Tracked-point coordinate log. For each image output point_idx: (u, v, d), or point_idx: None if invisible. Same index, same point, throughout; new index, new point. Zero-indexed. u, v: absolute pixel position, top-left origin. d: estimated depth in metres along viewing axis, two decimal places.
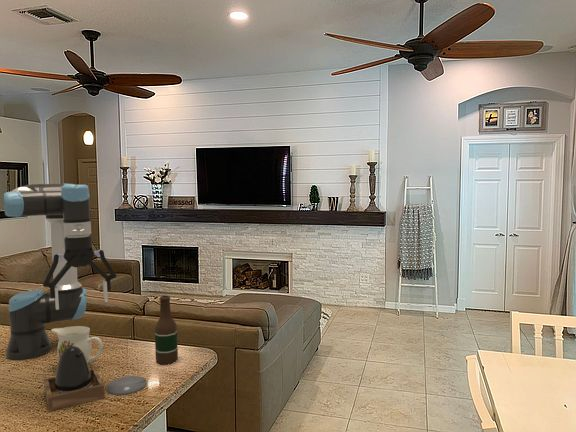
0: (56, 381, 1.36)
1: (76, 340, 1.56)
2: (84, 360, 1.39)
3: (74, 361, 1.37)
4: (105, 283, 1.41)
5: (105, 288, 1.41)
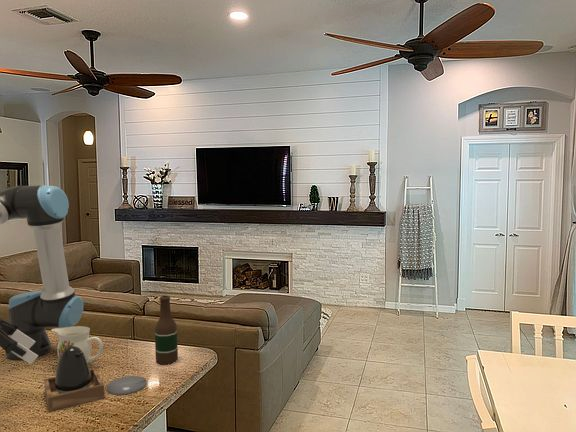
0: (56, 381, 1.36)
1: (76, 340, 1.56)
2: (84, 360, 1.39)
3: (74, 361, 1.37)
4: None
5: None
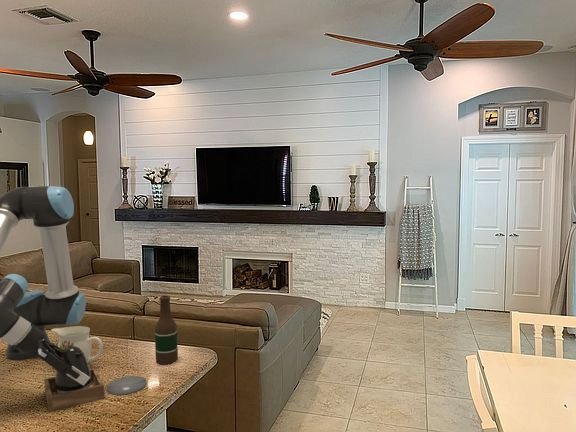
0: (56, 381, 1.36)
1: (76, 340, 1.56)
2: (84, 360, 1.39)
3: (74, 361, 1.37)
4: None
5: None
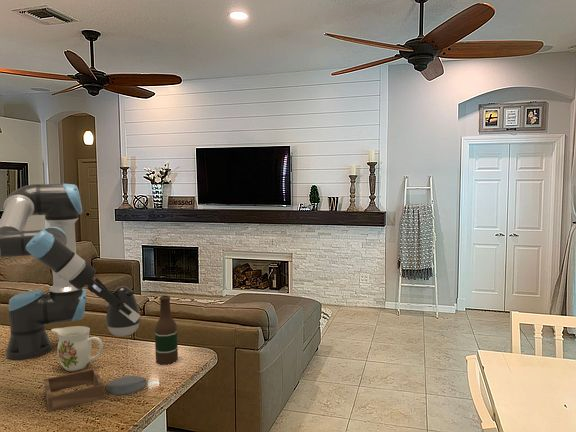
0: (108, 318, 1.40)
1: (76, 340, 1.56)
2: (134, 299, 1.43)
3: (125, 299, 1.40)
4: None
5: None
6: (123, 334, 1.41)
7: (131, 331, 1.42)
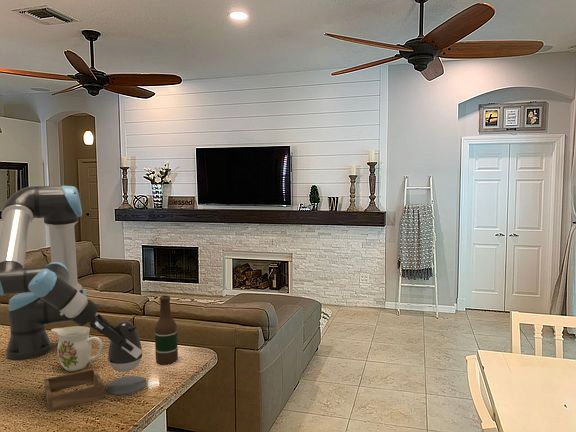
0: (110, 354, 1.40)
1: (76, 340, 1.56)
2: (136, 335, 1.44)
3: (127, 335, 1.41)
4: (121, 347, 1.38)
5: None
6: (125, 370, 1.41)
7: (133, 366, 1.42)
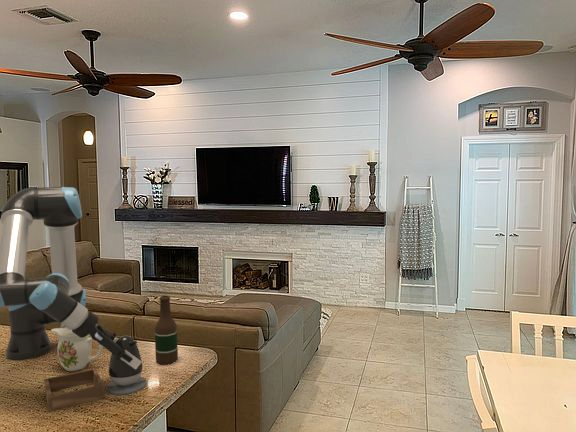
0: (111, 368, 1.42)
1: (76, 340, 1.56)
2: (136, 349, 1.45)
3: (128, 349, 1.43)
4: (120, 358, 1.38)
5: None
6: (125, 384, 1.42)
7: (133, 381, 1.43)
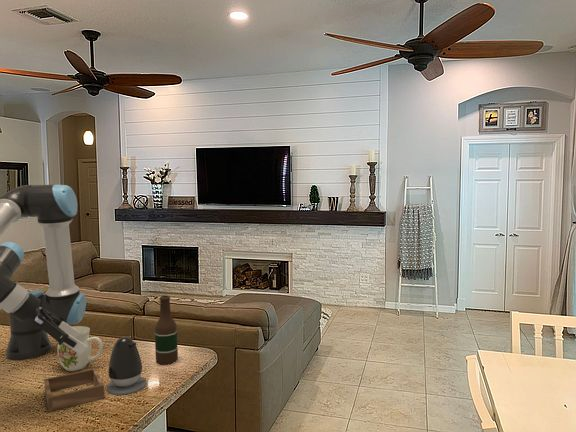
0: (110, 370, 1.42)
1: None
2: (136, 350, 1.45)
3: (127, 351, 1.42)
4: None
5: None
6: (125, 385, 1.42)
7: (133, 382, 1.43)
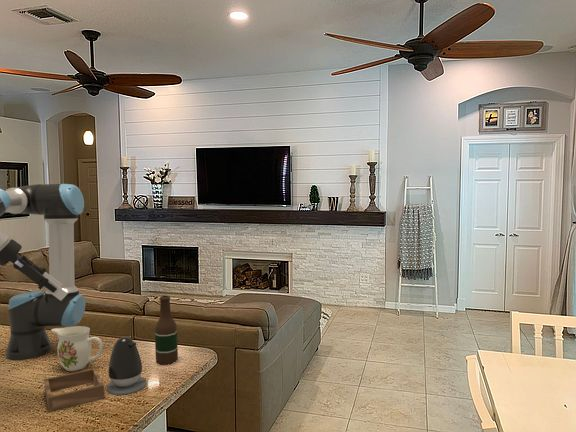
0: (110, 370, 1.42)
1: (76, 340, 1.56)
2: (136, 350, 1.45)
3: (127, 351, 1.42)
4: None
5: None
6: (125, 385, 1.42)
7: (133, 382, 1.43)
